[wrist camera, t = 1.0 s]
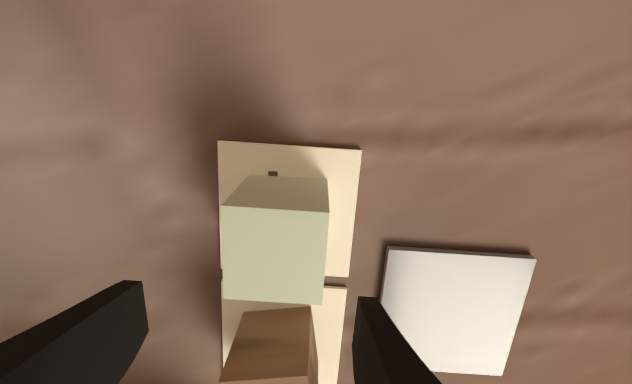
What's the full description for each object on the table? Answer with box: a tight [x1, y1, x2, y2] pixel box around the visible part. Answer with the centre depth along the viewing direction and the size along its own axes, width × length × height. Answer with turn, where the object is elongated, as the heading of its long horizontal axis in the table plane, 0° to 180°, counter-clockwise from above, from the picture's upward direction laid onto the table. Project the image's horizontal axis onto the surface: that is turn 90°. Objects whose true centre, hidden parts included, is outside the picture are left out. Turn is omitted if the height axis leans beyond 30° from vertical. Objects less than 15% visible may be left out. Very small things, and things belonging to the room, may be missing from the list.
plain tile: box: [221, 279, 347, 384], centre depth 24 cm, size 9×9×1 cm
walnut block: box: [218, 306, 318, 384], centre depth 21 cm, size 5×5×6 cm
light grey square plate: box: [379, 246, 537, 376], centre depth 23 cm, size 10×10×1 cm
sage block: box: [221, 174, 330, 305], centre depth 18 cm, size 5×5×6 cm
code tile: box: [217, 140, 362, 277], centre depth 21 cm, size 9×9×1 cm
